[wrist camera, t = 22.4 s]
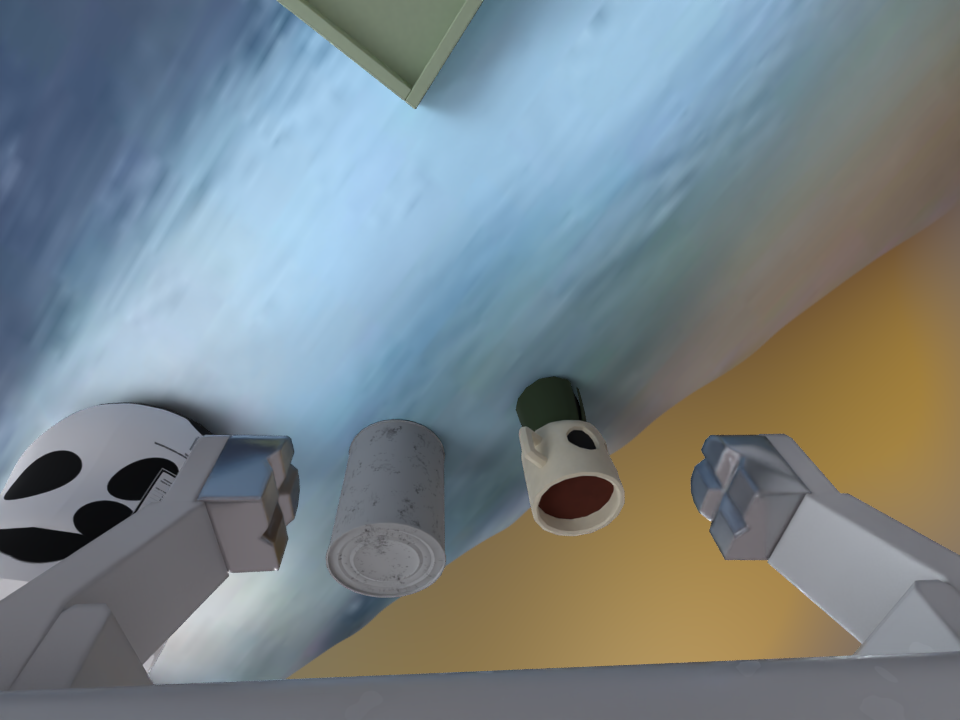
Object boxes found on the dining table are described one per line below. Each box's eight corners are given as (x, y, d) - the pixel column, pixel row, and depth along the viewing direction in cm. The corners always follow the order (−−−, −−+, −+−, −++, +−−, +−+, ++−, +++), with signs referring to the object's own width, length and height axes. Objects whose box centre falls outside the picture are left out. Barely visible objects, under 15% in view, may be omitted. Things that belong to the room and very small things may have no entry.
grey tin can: (459, 436, 50) (465, 539, 40) (423, 498, 55) (420, 606, 45) (366, 407, 48) (346, 510, 37) (336, 475, 52) (311, 584, 42)
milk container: (52, 493, 51) (-111, 687, 36) (61, 359, 43) (-144, 536, 28) (231, 534, 56) (154, 720, 41) (270, 421, 48) (191, 600, 33)
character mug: (611, 407, 50) (659, 512, 39) (556, 448, 52) (587, 558, 41) (536, 343, 45) (567, 442, 34) (480, 392, 48) (493, 498, 37)
